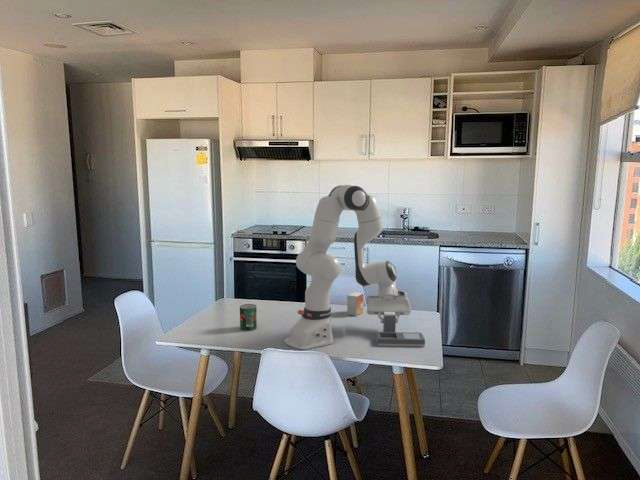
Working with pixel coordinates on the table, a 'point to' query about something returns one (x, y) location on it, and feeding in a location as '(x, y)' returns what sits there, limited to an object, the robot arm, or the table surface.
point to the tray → (382, 330)
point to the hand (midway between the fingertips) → (389, 322)
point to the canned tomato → (248, 317)
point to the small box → (355, 304)
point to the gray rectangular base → (399, 339)
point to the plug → (389, 321)
